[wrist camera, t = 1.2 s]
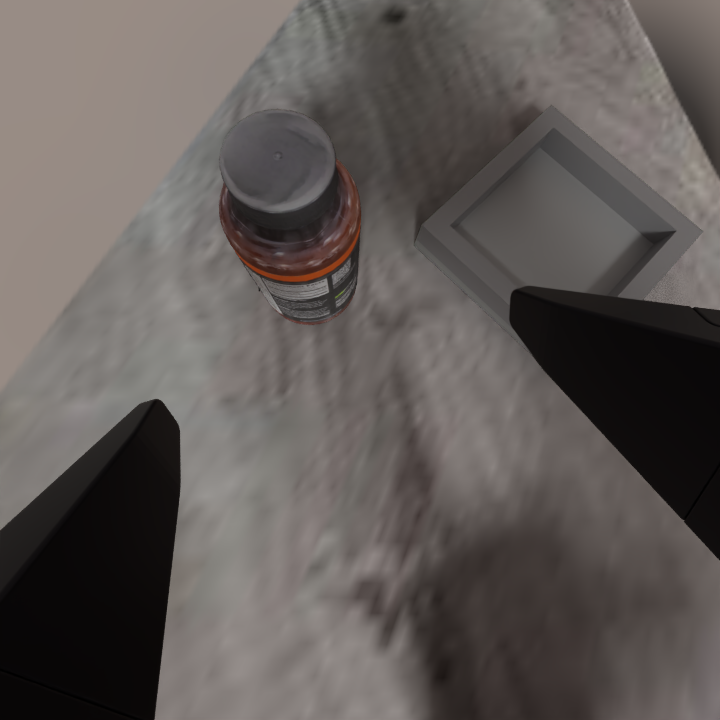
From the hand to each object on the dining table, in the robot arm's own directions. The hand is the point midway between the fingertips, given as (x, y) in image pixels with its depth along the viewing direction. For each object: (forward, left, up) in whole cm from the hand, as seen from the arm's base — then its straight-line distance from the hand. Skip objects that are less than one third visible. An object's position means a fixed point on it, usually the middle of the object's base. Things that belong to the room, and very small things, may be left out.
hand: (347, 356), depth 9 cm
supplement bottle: (+7, -3, -13) cm, 16 cm away
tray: (-2, -16, -13) cm, 21 cm away
